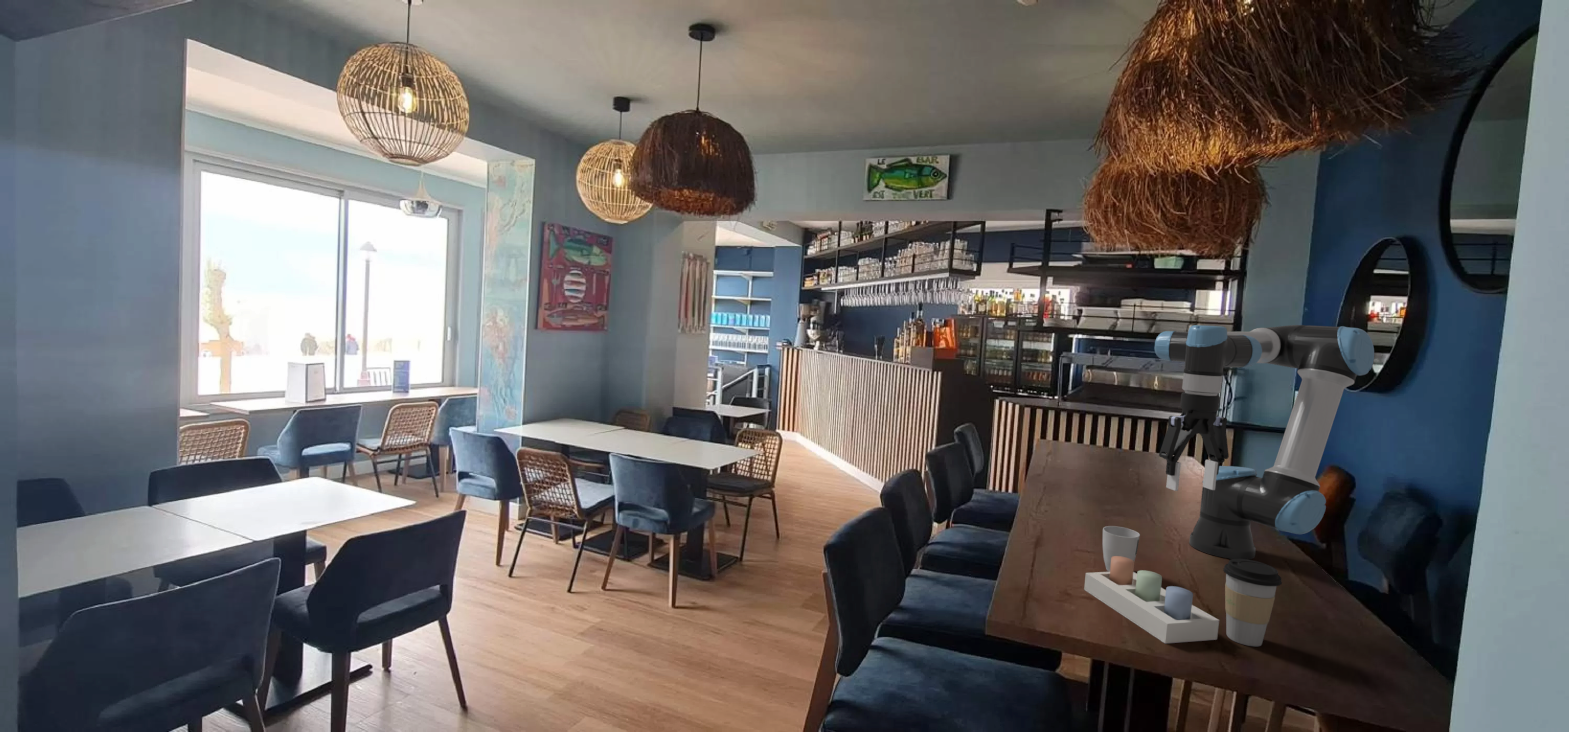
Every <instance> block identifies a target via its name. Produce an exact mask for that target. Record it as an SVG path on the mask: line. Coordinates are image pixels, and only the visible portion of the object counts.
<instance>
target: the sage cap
mask: <svg viewBox="0 0 1569 732" xmlns="http://www.w3.org/2000/svg"><path fill="white" fill-rule="evenodd" d="M1136 574H1137V580H1136V590H1135V596H1137V597H1139V598H1140V599H1142V600H1144V601H1147V602H1152V601H1160V592H1161V588H1162V583H1163V582H1162V581H1163V576H1162V575H1161V574H1159V573H1157V572H1154V571H1151V570H1145V569H1144V570H1142V569H1140V570H1138V571H1137V573H1136Z"/></svg>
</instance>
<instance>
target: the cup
mask: <svg viewBox="0 0 1569 732" xmlns="http://www.w3.org/2000/svg"><path fill="white" fill-rule="evenodd" d="M1140 536H1141V534H1140V533H1139V532H1138V531H1136V530H1133V529H1130V528H1128V527H1124V526H1116V525H1108V526H1107V525H1106V526H1104V527H1103V528H1102V554H1103V555H1102V556H1103V562H1104V565H1105V569H1106V572H1110V567H1111V557H1113V556H1121V557H1126V558H1129V559H1131V560H1133V561H1134V562H1135V560H1136V556H1137V554H1138V549H1139V541H1140Z"/></svg>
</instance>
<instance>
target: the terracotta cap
mask: <svg viewBox="0 0 1569 732" xmlns="http://www.w3.org/2000/svg"><path fill="white" fill-rule="evenodd" d="M1134 567H1135V560H1134V561H1133V560H1131V559H1129V558H1126V557H1121V556H1113V557H1111V567H1110V577H1109V580H1111V581H1112V582H1114V583H1116V584H1118V585H1132V581H1133V572H1135V571H1134V569H1135V568H1134Z"/></svg>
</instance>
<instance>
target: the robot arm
mask: <svg viewBox="0 0 1569 732" xmlns="http://www.w3.org/2000/svg"><path fill="white" fill-rule="evenodd" d="M1154 352H1155V354H1156V357H1158V358H1159V359H1161V360H1164V361H1169V362H1179V363H1184V369H1183V375H1182V376H1183V377H1182V385H1181V389H1182V390H1183V392H1182V393H1181V395H1180V404H1179V405H1180V408H1181V409H1182V412H1181V413H1180V415H1178V416H1176V415H1175V416H1174V415H1169V416H1168V427H1167V429H1166V432H1165V434H1164V435H1165V436H1164V438H1163V441H1162V445H1161V448H1160V451H1159V453H1158V456H1159V457H1160V458H1162V459H1163V460H1165V461H1166V464H1165V465H1166V467H1165V474H1166V475H1167V476H1166V484H1165V485H1166V486H1165V488H1166V489H1169V490H1172V491H1174V492H1178V491H1179V485H1180V475H1181V467H1182V463H1181V462H1179V460H1180V458H1181V456H1182V454H1183V452H1184V451H1185V449H1186V447H1187V445H1188V444H1189V441H1190V440H1191V438H1194V436H1195V435H1197V434H1199V435H1200V436H1201V439H1202V442H1203V444H1204V449H1205V450H1206V453H1207V455H1208V459H1205V461H1204V471H1203V472H1204V473H1203V480H1202V482H1201V483H1202V487H1201V488H1202V491H1201V497H1200V498H1201V499H1200V510H1199V517H1198V519H1197V521H1196V523H1195V525H1194V528H1193V530H1192V532H1191V533H1190V535H1189V539H1188V541H1189V542H1188V543H1189V545H1190V546H1191V547H1192V548H1194V549H1195V550H1197V551H1200V552H1202V553H1205V554H1208V555H1211V556H1215V557H1218V558H1224V559H1225V558H1226V559H1229V560H1231V559H1248V560H1252V559H1254V558H1255V557H1256V545H1255V544H1254V541H1253V540H1254V539H1253V534H1252V530H1251V523H1252V522H1254V523H1256V524H1259V525H1260V524H1261V525H1263V526H1267V527H1269V528H1273V529H1276V530H1278V531H1281V532H1287V533H1290V534H1294V535H1295V534H1296V535H1303V534H1307V533H1309V532H1311V531H1313V530H1314V529H1315V528H1316V527H1317V526H1318V525H1319V524H1320V522H1321V521H1322V519H1323V517H1324V516H1325V515H1324V514H1325V512H1326V510H1327V509H1326V508H1327V506H1326V504H1327V500H1326V497H1325V495H1324V494H1323V493H1321V492H1320V488H1321V485H1320V483H1319V482H1318V480H1317V479H1316V476H1317V473H1318V469H1319V466H1320V464H1321V460H1322V457H1323V454H1324V451H1325V448H1326V445H1327V442H1328V440H1329V435H1330V434H1331V433H1330V432H1331V430H1332V427H1333V423H1334V420H1335V417H1336V414H1337V411H1338V408H1339V406H1340V402H1341V399H1342V397H1343V393H1344V390H1345V389H1346V388H1347V387H1350V386H1352V385H1354V384H1355V382H1356V378H1357V376H1365V375H1367V374H1368V373H1369V371H1371V370H1372V368H1373V366H1374V362H1375V348H1374V344H1373V340H1372V338H1371V336H1370V335H1369V334H1368V332H1366V331H1365V330H1364V329H1361V328H1358V327H1348V326H1344V325H1342V326H1329V325H1328V326H1327V325H1305V324H1291V325H1279V326H1271V327H1257V328H1254V329H1252V330H1250V331H1228V329H1227V327H1225V326H1223V325H1199V324H1196V325H1195V324H1194V325H1191V326H1190V327H1189V329H1188V331H1177V330H1170V331H1169V330H1166V331H1162V332H1161V333H1159V334H1158V336H1156V339H1155V341H1154ZM1256 364H1269V365H1275V366H1281V367H1287V368H1290V369H1291V368H1292V369H1297V371H1296V372H1297V374H1298V375H1299V376H1300V378H1301V382H1300V386H1299V389H1298V392H1297V395H1296V398H1295V400H1294V404H1293V406H1292V410H1291V413H1290V416H1289V419H1288V422H1287V425H1286V427H1285V430H1284V434H1283V437H1282V440H1281V443H1280V447H1279V449H1278V453H1277V455H1276V457H1275V458H1276V459H1275V461H1274V463H1273V466H1271V467H1269V468H1266V469H1264V471H1263V475H1262V477H1259V476H1258V473H1257V470H1256V469H1254V468H1251V467H1245V466H1233V465H1220V464H1221V463H1222V464H1223V463H1224V462H1225V461H1226V460H1227V459H1229V455H1230V454H1229V447H1228V445H1229V444H1228V437H1227V429H1226V428H1227V422H1228V418H1226V417H1223V416H1219V415H1216V412H1219V409H1220V401H1221V397H1220V396H1219V395H1218V394H1220V393H1221V392H1222V384H1223V382H1222V381H1223V374H1224V373H1223V370H1224V368H1239V369H1242V368H1249V367H1252V366H1254V365H1256Z"/></svg>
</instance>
